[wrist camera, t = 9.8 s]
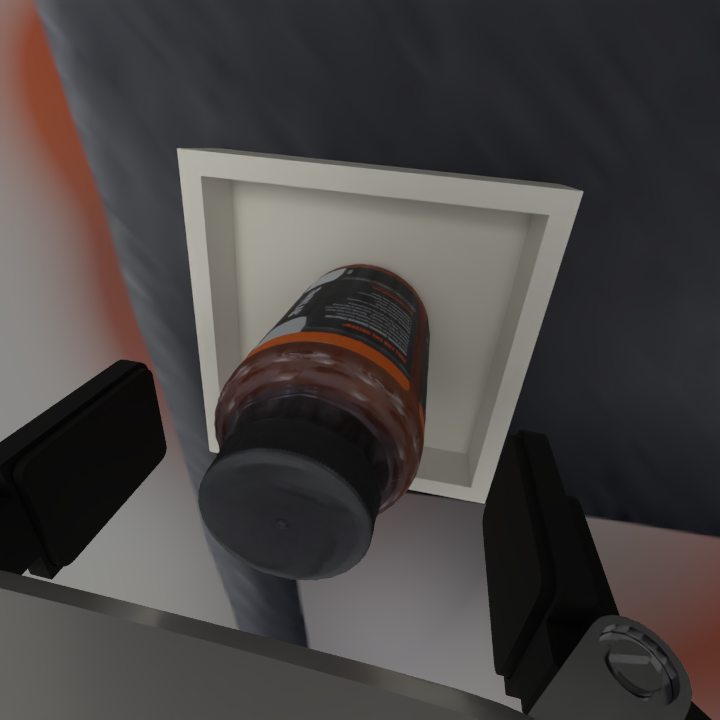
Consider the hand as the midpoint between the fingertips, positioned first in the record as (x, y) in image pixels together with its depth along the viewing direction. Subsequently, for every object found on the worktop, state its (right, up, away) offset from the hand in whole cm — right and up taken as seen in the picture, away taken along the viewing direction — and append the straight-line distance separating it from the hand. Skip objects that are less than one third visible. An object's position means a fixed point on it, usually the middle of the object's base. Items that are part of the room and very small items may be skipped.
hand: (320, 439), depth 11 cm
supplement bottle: (+1, +4, +8) cm, 9 cm away
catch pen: (+1, +4, +9) cm, 10 cm away
